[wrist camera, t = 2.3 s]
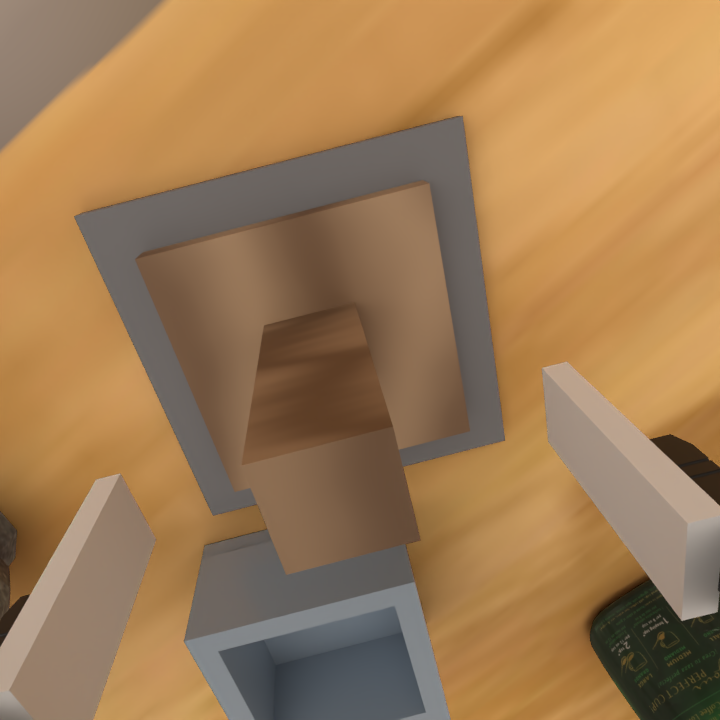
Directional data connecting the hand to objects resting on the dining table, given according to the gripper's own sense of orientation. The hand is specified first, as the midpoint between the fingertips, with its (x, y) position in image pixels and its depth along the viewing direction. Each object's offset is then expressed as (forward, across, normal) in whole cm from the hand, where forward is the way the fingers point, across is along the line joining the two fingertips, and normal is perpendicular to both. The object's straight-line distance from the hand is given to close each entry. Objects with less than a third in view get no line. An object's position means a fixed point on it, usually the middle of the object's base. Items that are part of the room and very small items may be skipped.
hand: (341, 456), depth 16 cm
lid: (+9, 0, 0) cm, 9 cm away
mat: (+10, 0, 0) cm, 10 cm away
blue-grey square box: (+10, +4, +16) cm, 19 cm away
